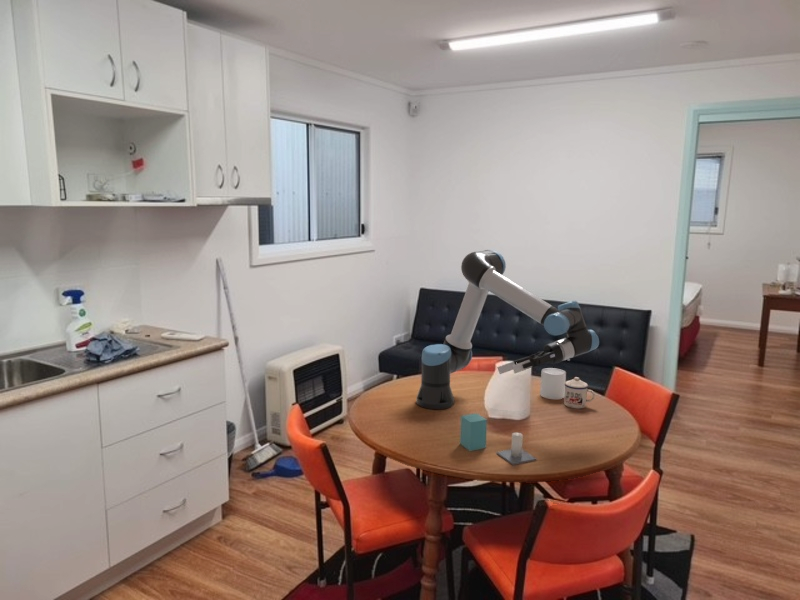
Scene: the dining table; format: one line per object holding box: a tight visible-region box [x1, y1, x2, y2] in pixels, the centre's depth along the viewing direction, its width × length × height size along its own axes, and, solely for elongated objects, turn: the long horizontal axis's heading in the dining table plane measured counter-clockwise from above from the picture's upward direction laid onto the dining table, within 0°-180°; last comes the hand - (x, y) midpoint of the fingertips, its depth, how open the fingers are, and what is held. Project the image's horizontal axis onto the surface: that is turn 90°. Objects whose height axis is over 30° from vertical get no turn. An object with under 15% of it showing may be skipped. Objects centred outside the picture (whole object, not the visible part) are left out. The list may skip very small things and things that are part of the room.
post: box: [496, 432, 537, 466], centre depth 183 cm, size 9×9×8 cm
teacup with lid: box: [563, 376, 596, 409], centre depth 230 cm, size 12×9×12 cm
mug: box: [539, 367, 567, 400], centre depth 244 cm, size 14×10×11 cm
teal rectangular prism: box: [459, 413, 488, 452], centre depth 190 cm, size 6×6×10 cm
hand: (505, 370), depth 199 cm, fingers open, 13 cm apart
